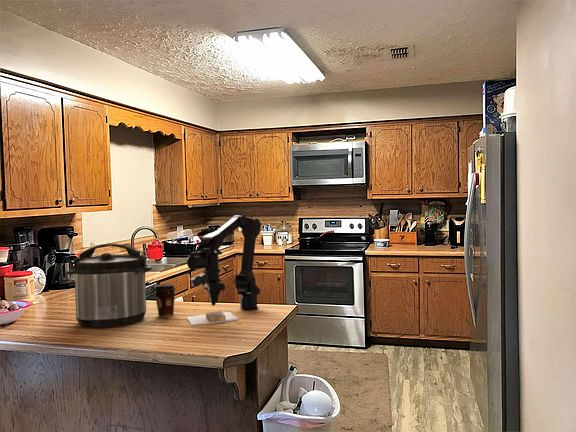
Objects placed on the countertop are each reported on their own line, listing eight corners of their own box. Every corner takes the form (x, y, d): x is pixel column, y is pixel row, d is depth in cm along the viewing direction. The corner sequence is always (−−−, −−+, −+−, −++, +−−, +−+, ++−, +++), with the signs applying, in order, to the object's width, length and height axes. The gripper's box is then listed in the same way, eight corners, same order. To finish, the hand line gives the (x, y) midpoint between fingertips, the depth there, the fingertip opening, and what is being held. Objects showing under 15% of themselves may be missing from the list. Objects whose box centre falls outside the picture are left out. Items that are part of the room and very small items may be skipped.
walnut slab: (220, 311, 194) (225, 315, 186) (220, 316, 194) (225, 320, 186) (205, 312, 192) (209, 317, 184) (205, 317, 192) (210, 322, 184)
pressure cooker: (165, 315, 203) (161, 240, 202) (116, 332, 177) (112, 247, 176) (111, 311, 215) (108, 241, 214) (58, 327, 189) (54, 247, 188)
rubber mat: (229, 313, 201) (229, 311, 201) (237, 320, 188) (237, 318, 188) (186, 318, 195) (186, 316, 195) (191, 326, 182) (191, 324, 182)
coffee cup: (155, 318, 197) (153, 287, 196) (155, 314, 205) (153, 284, 204) (176, 316, 199) (175, 285, 199) (176, 312, 207) (174, 282, 207)
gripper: (187, 265, 197) (189, 303, 198) (195, 271, 180) (197, 312, 180) (214, 263, 201) (216, 300, 202) (224, 268, 184) (226, 308, 184)
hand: (213, 305), depth 192 cm, fingers closed
